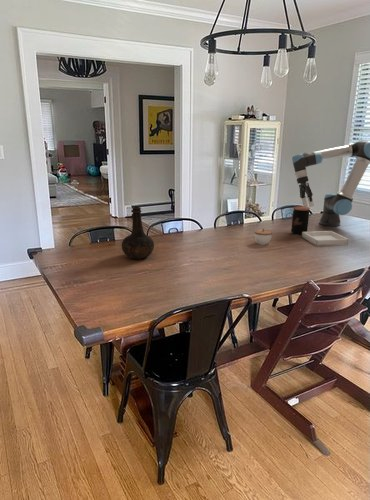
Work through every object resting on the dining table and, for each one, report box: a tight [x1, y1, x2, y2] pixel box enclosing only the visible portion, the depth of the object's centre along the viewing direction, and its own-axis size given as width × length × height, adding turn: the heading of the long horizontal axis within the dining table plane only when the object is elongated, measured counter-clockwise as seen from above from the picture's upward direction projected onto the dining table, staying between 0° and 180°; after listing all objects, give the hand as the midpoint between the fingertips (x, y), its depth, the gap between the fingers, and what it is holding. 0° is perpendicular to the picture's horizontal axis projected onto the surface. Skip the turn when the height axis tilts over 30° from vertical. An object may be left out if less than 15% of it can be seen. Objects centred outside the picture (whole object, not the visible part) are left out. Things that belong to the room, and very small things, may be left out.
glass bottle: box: [121, 206, 155, 260], centre depth 203 cm, size 18×18×28 cm
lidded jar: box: [254, 228, 273, 246], centre depth 233 cm, size 11×11×9 cm
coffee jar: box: [290, 205, 311, 236], centre depth 256 cm, size 11×11×18 cm
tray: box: [301, 230, 350, 247], centre depth 241 cm, size 21×21×4 cm
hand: (308, 206), depth 262 cm, fingers open, 13 cm apart
